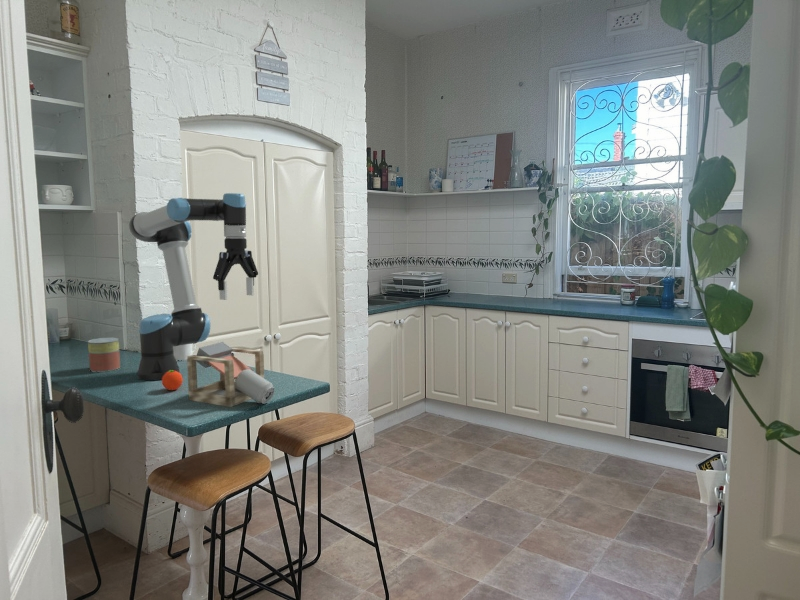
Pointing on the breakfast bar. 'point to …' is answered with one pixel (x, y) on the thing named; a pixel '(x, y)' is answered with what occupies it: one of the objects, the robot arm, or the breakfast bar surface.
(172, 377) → the clementine
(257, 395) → the can
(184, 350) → the mug
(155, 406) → the breakfast bar surface
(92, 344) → the canned food
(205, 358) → the frame
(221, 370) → the grey and pink block
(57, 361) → the breakfast bar surface
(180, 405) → the breakfast bar surface
